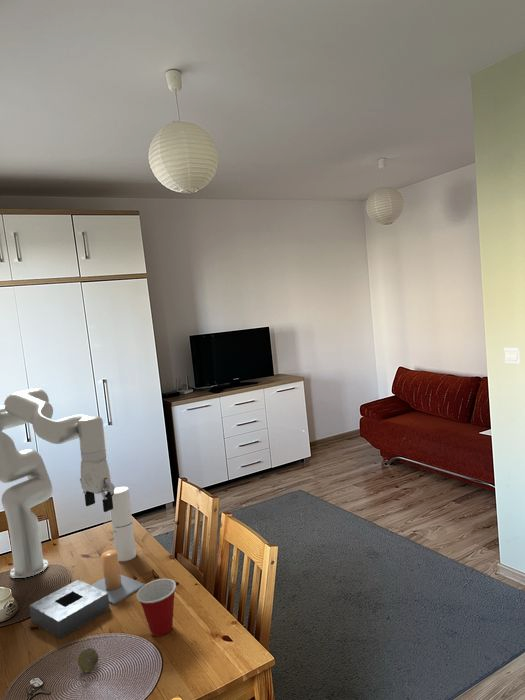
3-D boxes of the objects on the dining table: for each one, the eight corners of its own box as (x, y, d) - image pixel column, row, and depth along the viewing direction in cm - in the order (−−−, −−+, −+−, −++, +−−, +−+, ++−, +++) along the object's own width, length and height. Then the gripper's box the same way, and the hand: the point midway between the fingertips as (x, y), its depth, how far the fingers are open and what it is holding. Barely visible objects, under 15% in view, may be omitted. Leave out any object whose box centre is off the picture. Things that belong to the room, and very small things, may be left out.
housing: (31, 621, 151) (29, 605, 151) (79, 594, 163) (78, 579, 163) (60, 638, 141) (58, 621, 141) (109, 609, 153) (107, 593, 153)
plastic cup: (137, 626, 143) (132, 585, 143) (175, 613, 148) (170, 574, 147) (144, 648, 133) (139, 604, 133) (185, 634, 138) (180, 591, 137)
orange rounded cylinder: (102, 588, 165) (98, 555, 164) (115, 580, 169) (111, 548, 168) (112, 592, 162) (107, 559, 161) (124, 584, 166) (120, 551, 165)
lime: (100, 661, 130) (97, 642, 130) (94, 675, 125) (92, 655, 125) (82, 663, 130) (80, 644, 129) (76, 677, 125) (73, 657, 125)
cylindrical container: (130, 561, 183) (122, 493, 181) (112, 561, 184) (104, 493, 182) (139, 551, 190) (131, 486, 188) (121, 551, 191) (114, 486, 189)
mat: (83, 590, 166) (83, 588, 166) (114, 573, 175) (114, 572, 175) (113, 604, 156) (113, 602, 156) (144, 585, 165) (144, 584, 165)
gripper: (68, 455, 165) (73, 506, 167) (99, 462, 154) (105, 517, 156) (88, 449, 171) (93, 498, 172) (120, 455, 160) (125, 508, 162)
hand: (99, 507), depth 164 cm, fingers open, 9 cm apart
